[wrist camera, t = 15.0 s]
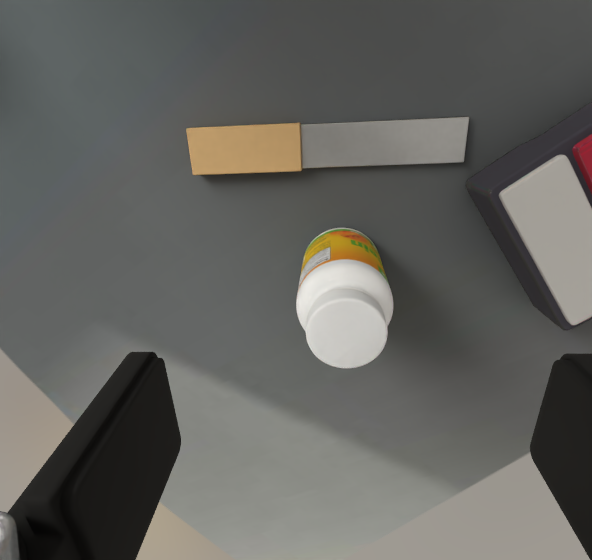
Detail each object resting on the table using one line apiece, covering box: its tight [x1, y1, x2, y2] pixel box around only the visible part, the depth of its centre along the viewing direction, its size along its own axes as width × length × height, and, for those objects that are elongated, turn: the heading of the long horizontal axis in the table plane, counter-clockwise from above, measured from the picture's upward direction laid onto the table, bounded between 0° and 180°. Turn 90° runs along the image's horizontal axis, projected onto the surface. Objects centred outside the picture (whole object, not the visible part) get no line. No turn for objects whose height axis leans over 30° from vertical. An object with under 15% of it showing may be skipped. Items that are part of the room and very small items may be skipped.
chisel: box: [186, 117, 469, 175], centre depth 24 cm, size 17×3×1 cm, turn 93°
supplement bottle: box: [296, 228, 393, 368], centre depth 24 cm, size 5×5×10 cm
